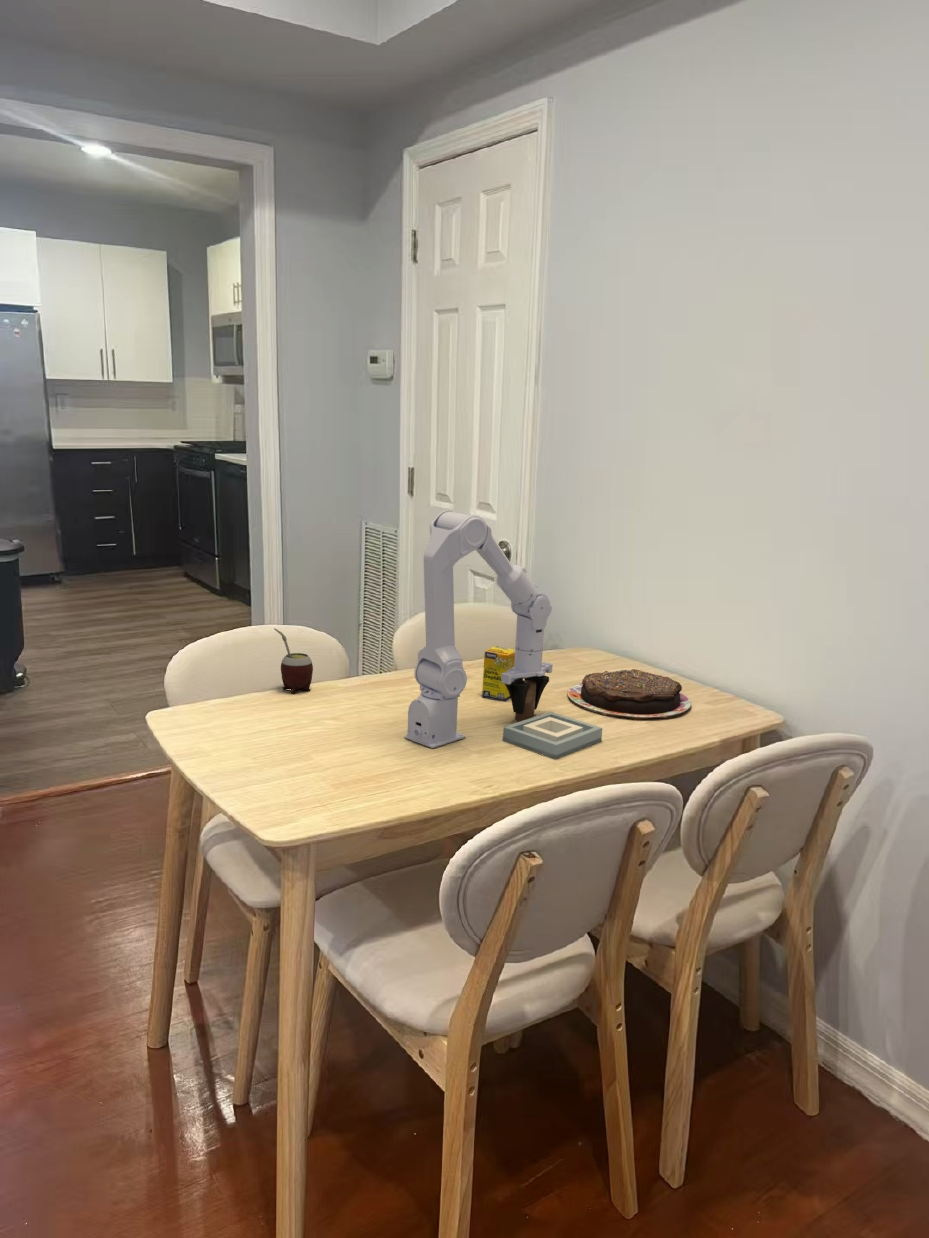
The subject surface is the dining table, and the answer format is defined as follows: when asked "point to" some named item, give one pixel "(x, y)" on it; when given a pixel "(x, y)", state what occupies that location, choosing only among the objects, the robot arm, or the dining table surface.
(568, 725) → the socket block
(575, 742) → the tray
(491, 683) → the supplement box
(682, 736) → the dining table surface
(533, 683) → the walnut peg
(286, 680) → the mate gourd
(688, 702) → the chocolate cake
